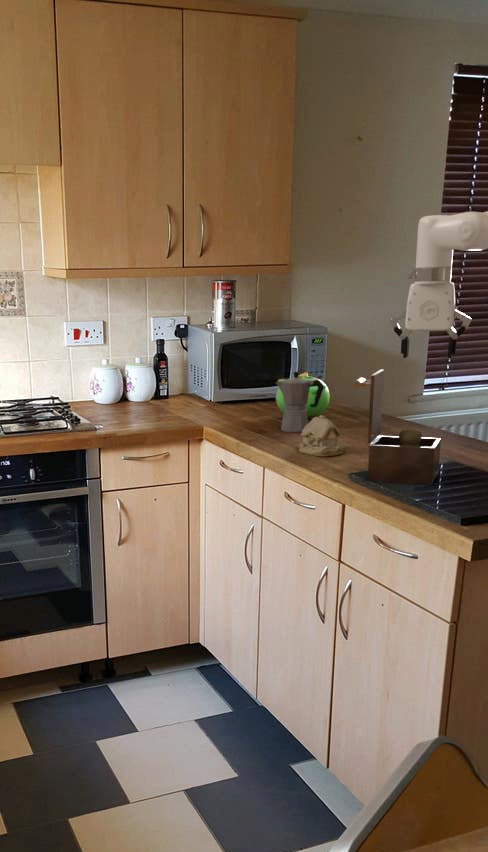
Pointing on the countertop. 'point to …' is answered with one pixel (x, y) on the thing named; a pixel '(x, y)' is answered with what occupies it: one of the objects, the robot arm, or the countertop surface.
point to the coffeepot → (297, 402)
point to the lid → (373, 402)
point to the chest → (403, 461)
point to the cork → (410, 437)
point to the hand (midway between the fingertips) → (427, 357)
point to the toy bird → (311, 397)
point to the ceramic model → (320, 438)
